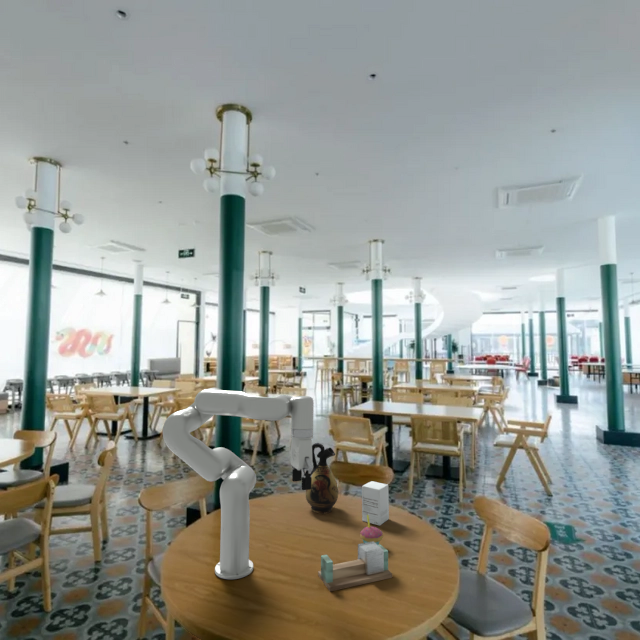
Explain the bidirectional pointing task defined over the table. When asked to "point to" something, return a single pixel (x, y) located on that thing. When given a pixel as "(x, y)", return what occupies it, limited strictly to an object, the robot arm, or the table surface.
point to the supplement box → (375, 502)
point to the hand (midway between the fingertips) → (301, 485)
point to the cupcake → (371, 533)
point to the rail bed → (355, 580)
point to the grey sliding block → (371, 557)
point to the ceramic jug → (322, 482)
